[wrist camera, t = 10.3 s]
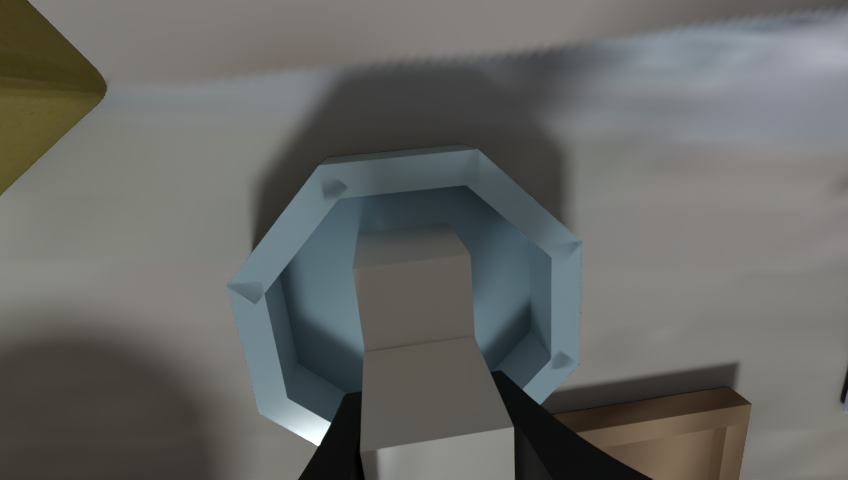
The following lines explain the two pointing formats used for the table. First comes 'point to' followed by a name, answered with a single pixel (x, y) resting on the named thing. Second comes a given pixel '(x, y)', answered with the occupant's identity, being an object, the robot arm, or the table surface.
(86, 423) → the table surface
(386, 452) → the sharp-edged grey cuboid
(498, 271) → the bowl
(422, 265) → the light grey block
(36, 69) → the flower pot
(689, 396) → the tray
